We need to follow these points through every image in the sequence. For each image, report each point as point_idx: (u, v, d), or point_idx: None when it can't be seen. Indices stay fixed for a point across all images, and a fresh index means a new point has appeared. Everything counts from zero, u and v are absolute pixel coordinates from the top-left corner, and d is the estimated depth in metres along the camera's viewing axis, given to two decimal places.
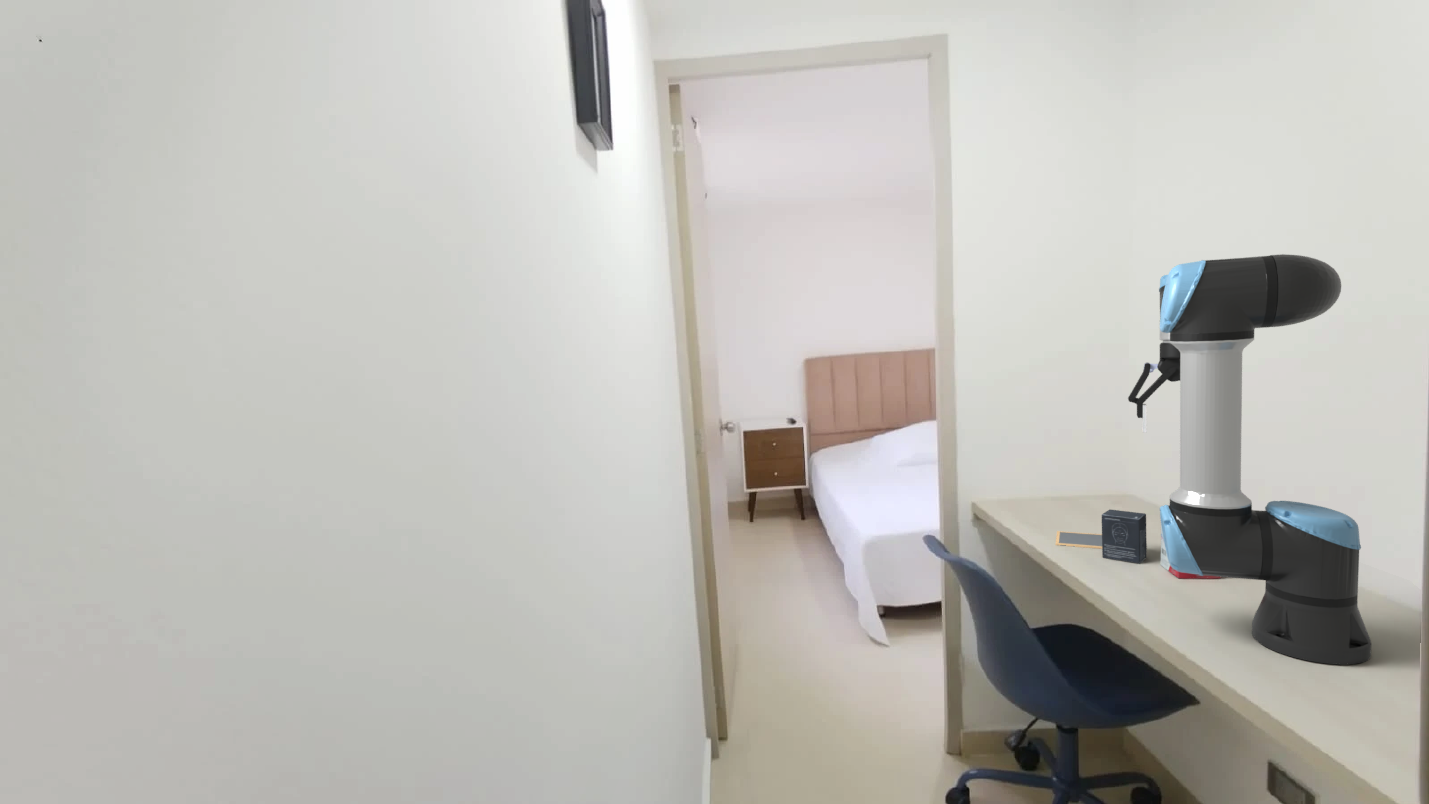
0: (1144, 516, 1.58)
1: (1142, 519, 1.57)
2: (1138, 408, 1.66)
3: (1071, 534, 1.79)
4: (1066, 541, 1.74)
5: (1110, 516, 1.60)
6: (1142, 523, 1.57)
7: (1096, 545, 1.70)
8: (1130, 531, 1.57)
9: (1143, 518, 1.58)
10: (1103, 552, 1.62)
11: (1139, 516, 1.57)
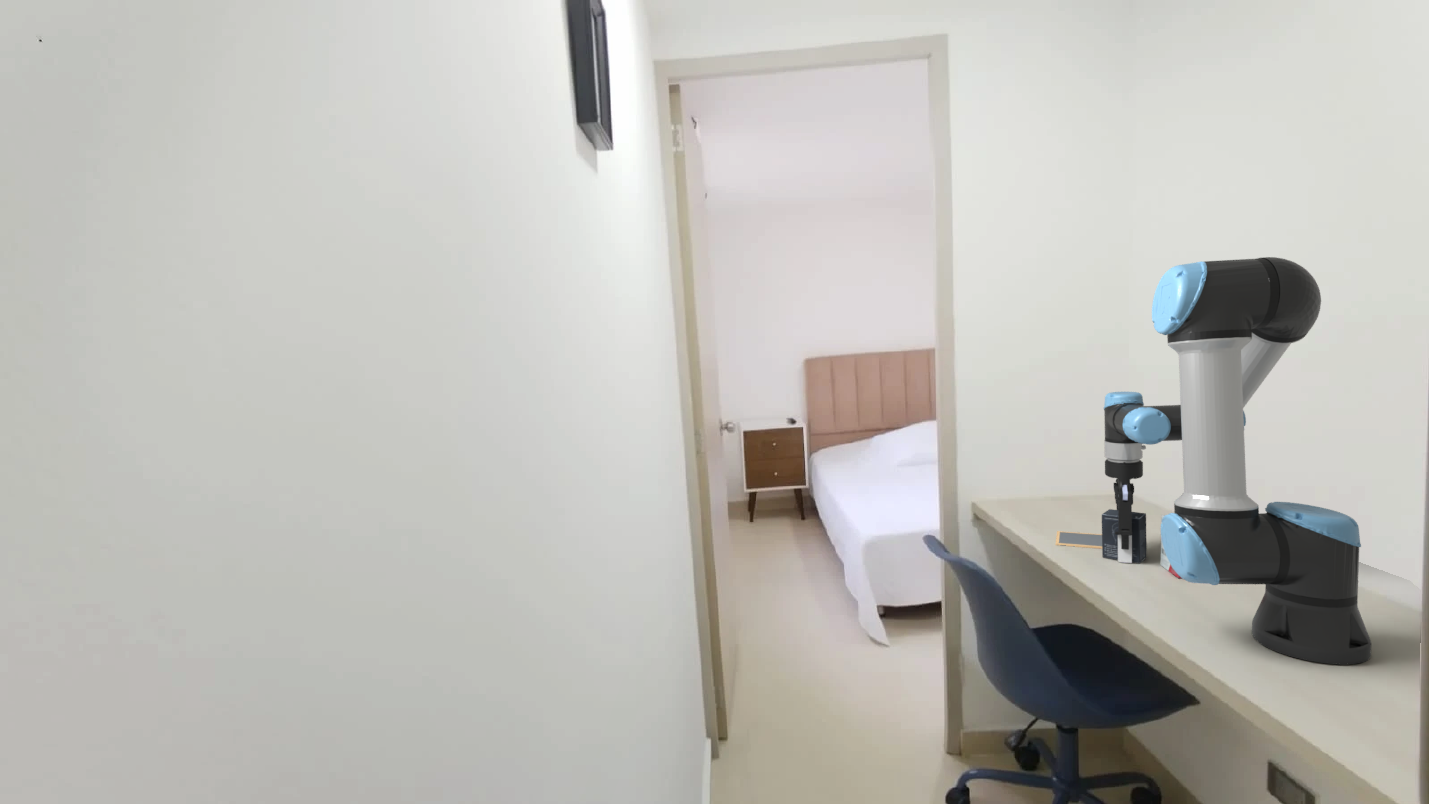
0: (1144, 516, 1.59)
1: (1142, 518, 1.57)
2: None
3: (1071, 534, 1.79)
4: (1066, 541, 1.74)
5: (1110, 516, 1.60)
6: (1142, 523, 1.57)
7: (1096, 545, 1.70)
8: None
9: (1143, 518, 1.58)
10: (1103, 552, 1.62)
11: (1139, 516, 1.57)
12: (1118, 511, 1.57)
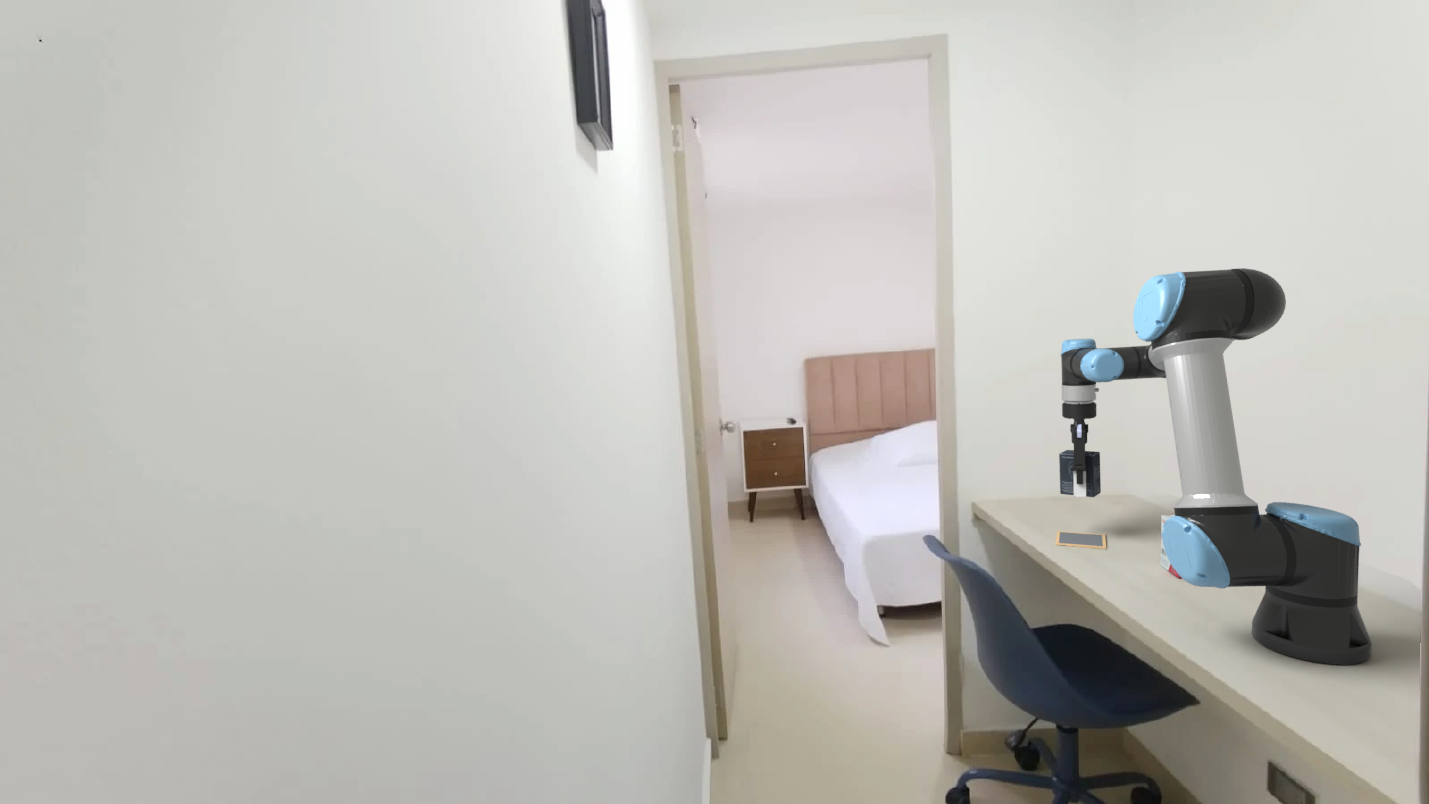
0: (1098, 454, 1.71)
1: (1095, 456, 1.70)
2: None
3: (1071, 534, 1.79)
4: (1066, 541, 1.74)
5: (1067, 455, 1.73)
6: (1096, 460, 1.70)
7: (1096, 545, 1.70)
8: None
9: (1097, 456, 1.71)
10: (1061, 489, 1.74)
11: (1093, 454, 1.70)
12: None
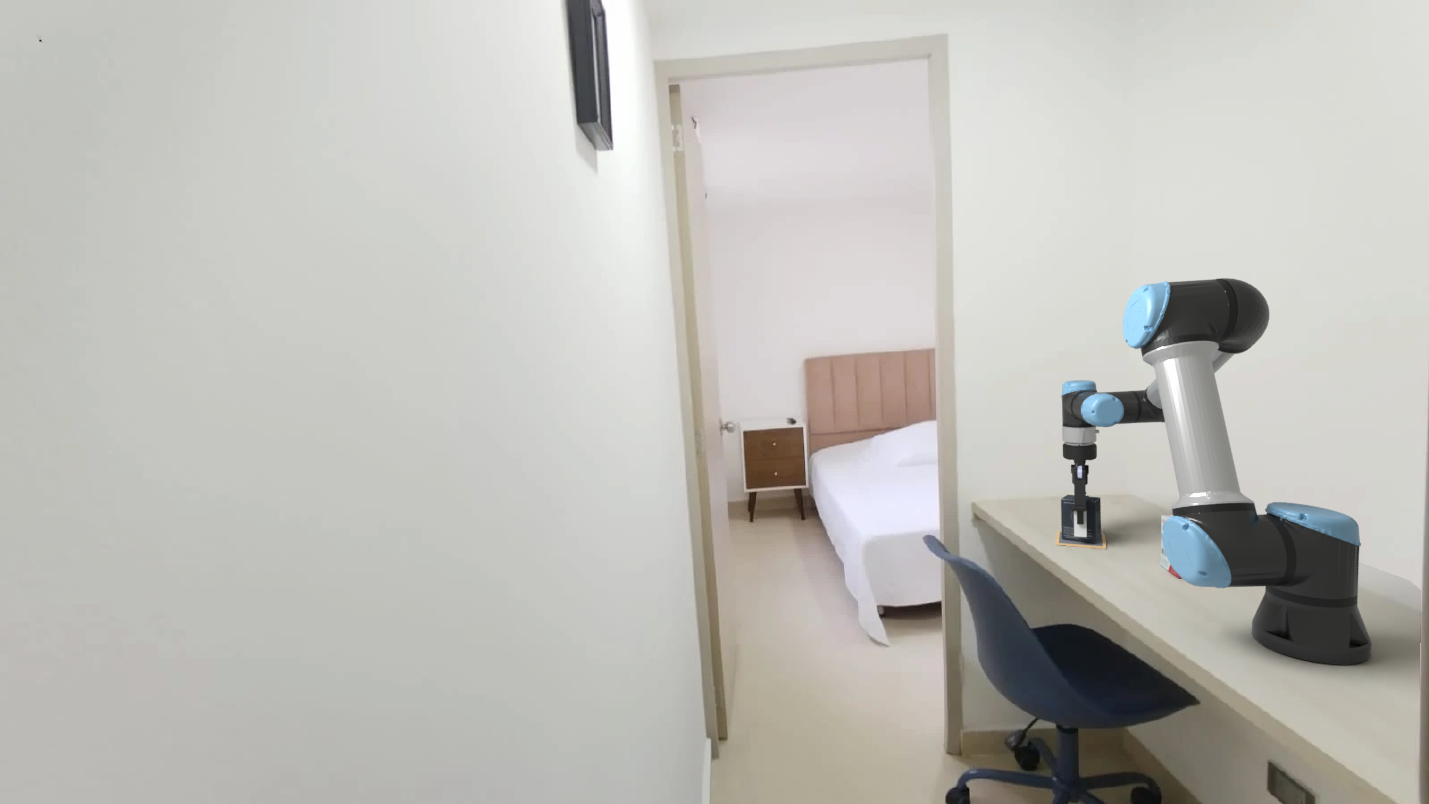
0: (1099, 500, 1.73)
1: (1097, 502, 1.71)
2: None
3: None
4: (1066, 541, 1.74)
5: (1069, 500, 1.74)
6: (1097, 506, 1.71)
7: (1096, 545, 1.70)
8: (1086, 513, 1.71)
9: (1098, 501, 1.72)
10: (1062, 534, 1.75)
11: (1094, 500, 1.71)
12: None
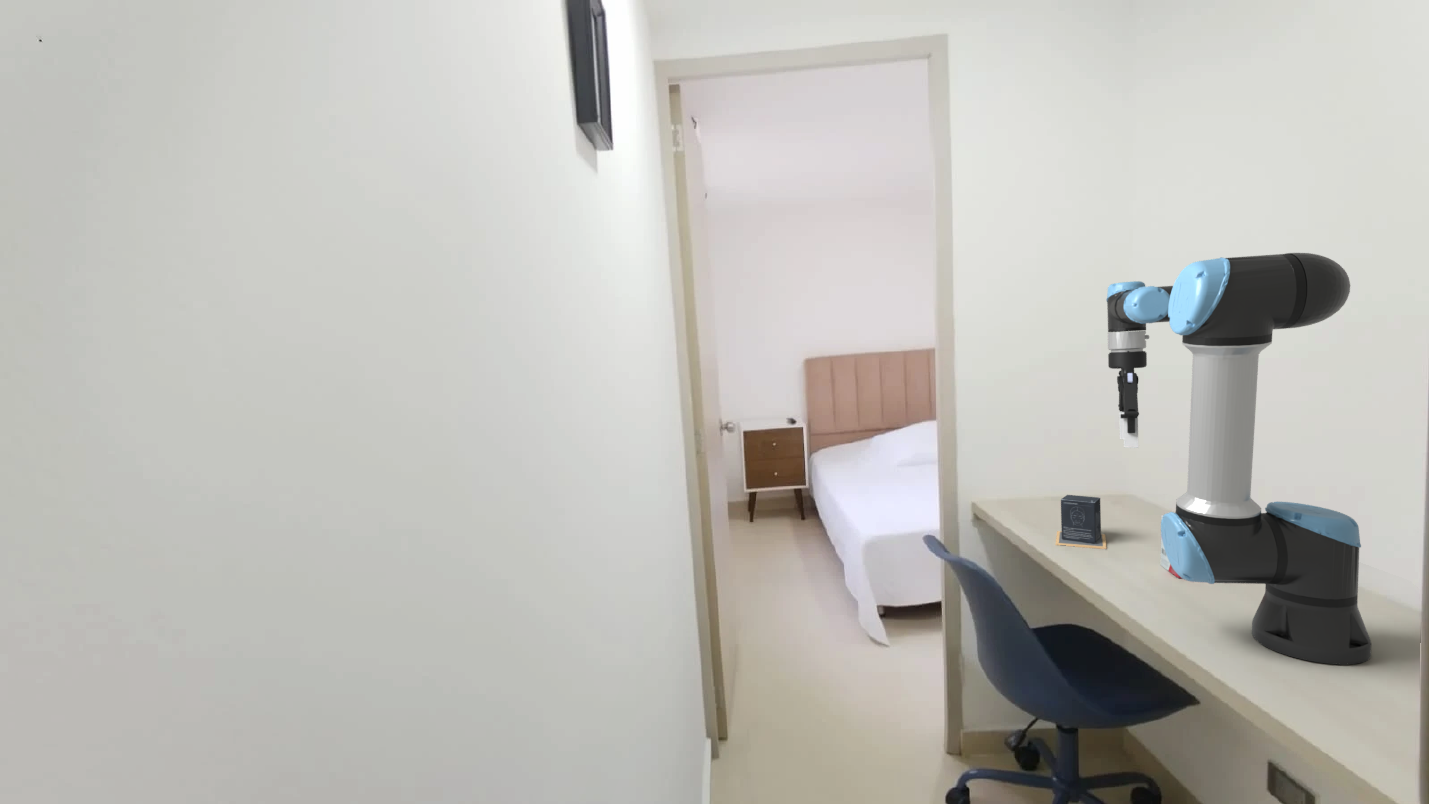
0: (1098, 500, 1.73)
1: (1097, 502, 1.71)
2: None
3: None
4: (1066, 541, 1.74)
5: (1068, 500, 1.73)
6: (1097, 506, 1.71)
7: (1096, 545, 1.70)
8: (1086, 513, 1.71)
9: (1098, 502, 1.72)
10: (1062, 534, 1.75)
11: (1094, 500, 1.71)
12: (1123, 397, 1.55)
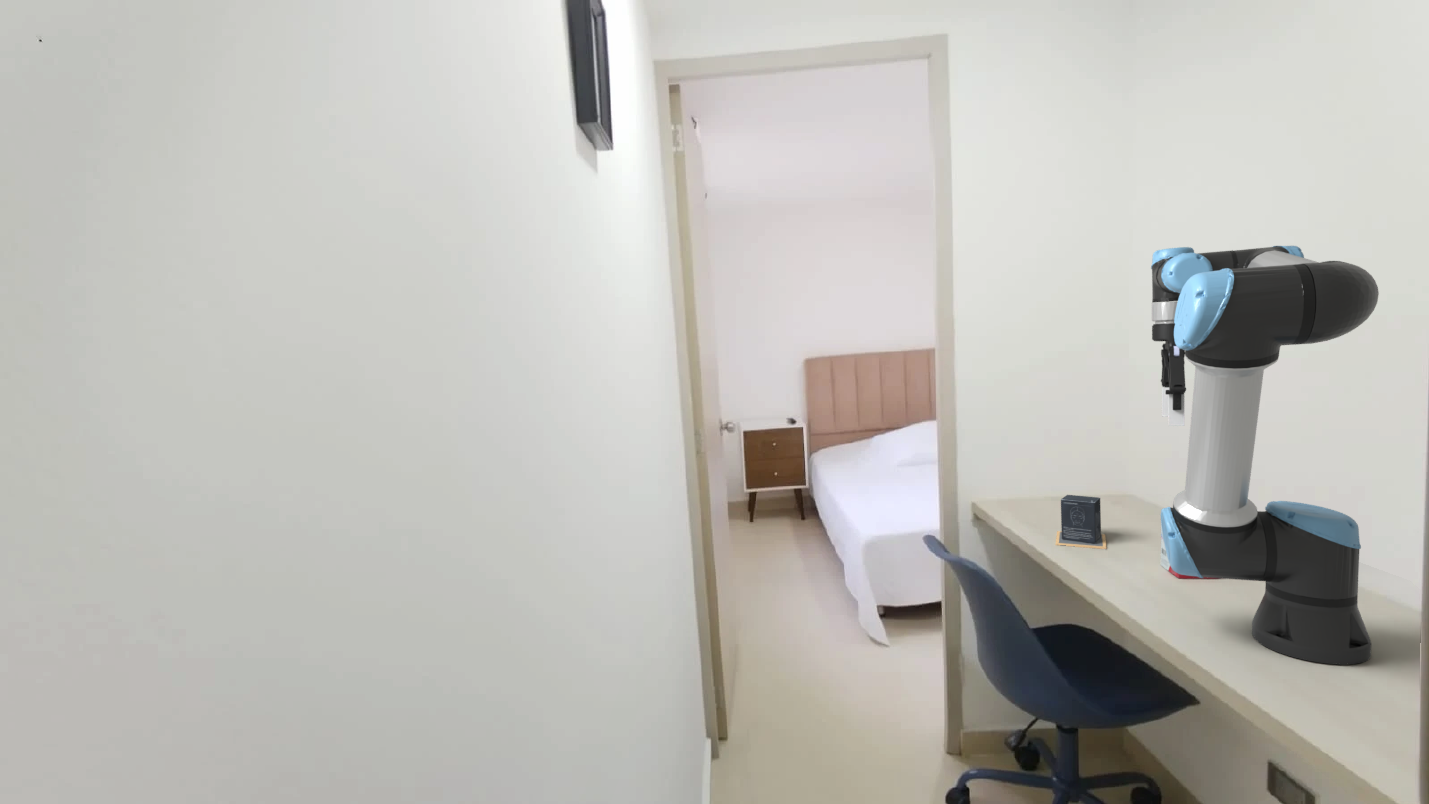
0: (1099, 500, 1.73)
1: (1097, 502, 1.71)
2: None
3: None
4: (1066, 541, 1.74)
5: (1068, 500, 1.73)
6: (1097, 506, 1.71)
7: (1096, 545, 1.70)
8: (1086, 513, 1.71)
9: (1098, 502, 1.72)
10: (1062, 534, 1.75)
11: (1094, 500, 1.71)
12: (1168, 371, 1.45)
